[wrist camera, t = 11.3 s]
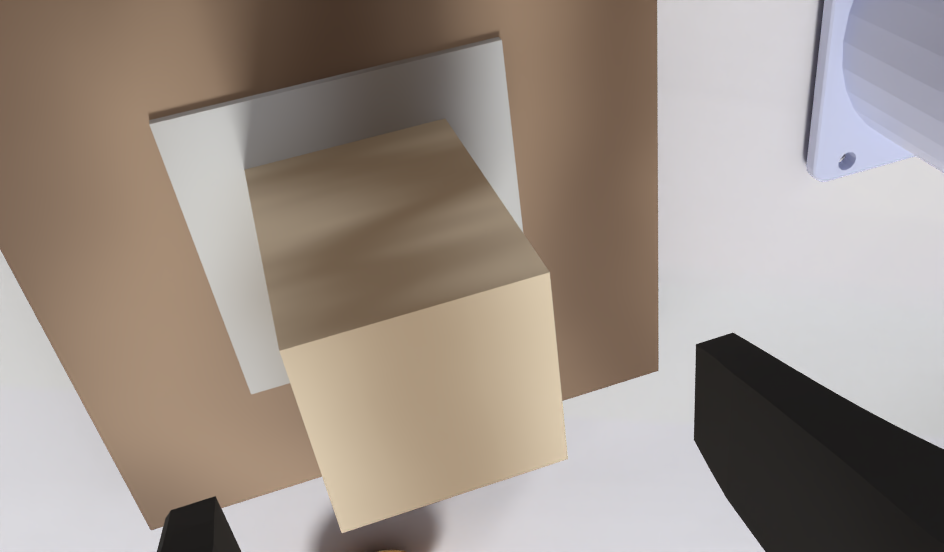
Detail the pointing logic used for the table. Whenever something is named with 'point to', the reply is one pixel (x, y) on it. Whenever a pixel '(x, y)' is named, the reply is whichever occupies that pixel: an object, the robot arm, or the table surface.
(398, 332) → the maple block
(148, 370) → the walnut base
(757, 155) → the table surface
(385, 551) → the figurine
